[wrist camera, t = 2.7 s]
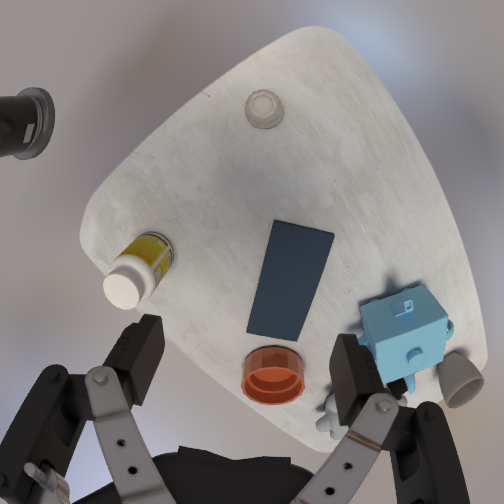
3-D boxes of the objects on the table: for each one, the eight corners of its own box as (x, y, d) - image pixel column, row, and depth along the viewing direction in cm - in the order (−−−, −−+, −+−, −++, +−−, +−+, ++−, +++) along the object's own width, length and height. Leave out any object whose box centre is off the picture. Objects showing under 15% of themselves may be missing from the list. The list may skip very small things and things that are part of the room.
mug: (427, 362, 46) (444, 397, 37) (462, 338, 43) (483, 370, 34) (437, 387, 49) (451, 418, 40) (468, 366, 46) (485, 395, 38)
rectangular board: (296, 338, 44) (296, 341, 43) (246, 329, 44) (246, 332, 43) (333, 233, 36) (334, 235, 36) (274, 219, 36) (274, 221, 36)
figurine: (340, 429, 54) (414, 380, 50) (349, 457, 46) (430, 406, 42) (296, 400, 50) (383, 341, 45) (302, 434, 42) (402, 371, 37)
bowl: (239, 378, 48) (236, 399, 44) (250, 340, 44) (248, 361, 40) (292, 387, 49) (293, 408, 44) (310, 350, 45) (313, 371, 40)
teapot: (430, 253, 37) (470, 292, 26) (430, 339, 43) (455, 382, 33) (334, 285, 40) (352, 337, 29) (351, 367, 46) (364, 416, 36)
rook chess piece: (259, 136, 32) (256, 137, 25) (238, 106, 31) (228, 99, 24) (290, 116, 31) (297, 111, 24) (269, 86, 30) (269, 73, 22)
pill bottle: (127, 241, 39) (87, 277, 29) (160, 224, 37) (125, 259, 27) (148, 276, 41) (116, 320, 31) (182, 262, 40) (155, 307, 29)
